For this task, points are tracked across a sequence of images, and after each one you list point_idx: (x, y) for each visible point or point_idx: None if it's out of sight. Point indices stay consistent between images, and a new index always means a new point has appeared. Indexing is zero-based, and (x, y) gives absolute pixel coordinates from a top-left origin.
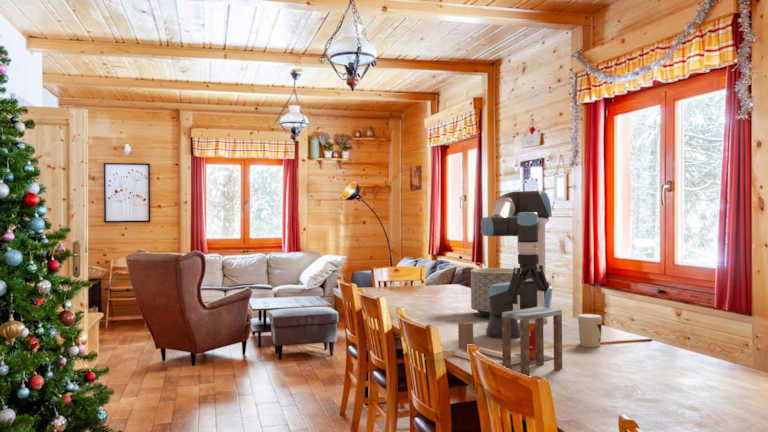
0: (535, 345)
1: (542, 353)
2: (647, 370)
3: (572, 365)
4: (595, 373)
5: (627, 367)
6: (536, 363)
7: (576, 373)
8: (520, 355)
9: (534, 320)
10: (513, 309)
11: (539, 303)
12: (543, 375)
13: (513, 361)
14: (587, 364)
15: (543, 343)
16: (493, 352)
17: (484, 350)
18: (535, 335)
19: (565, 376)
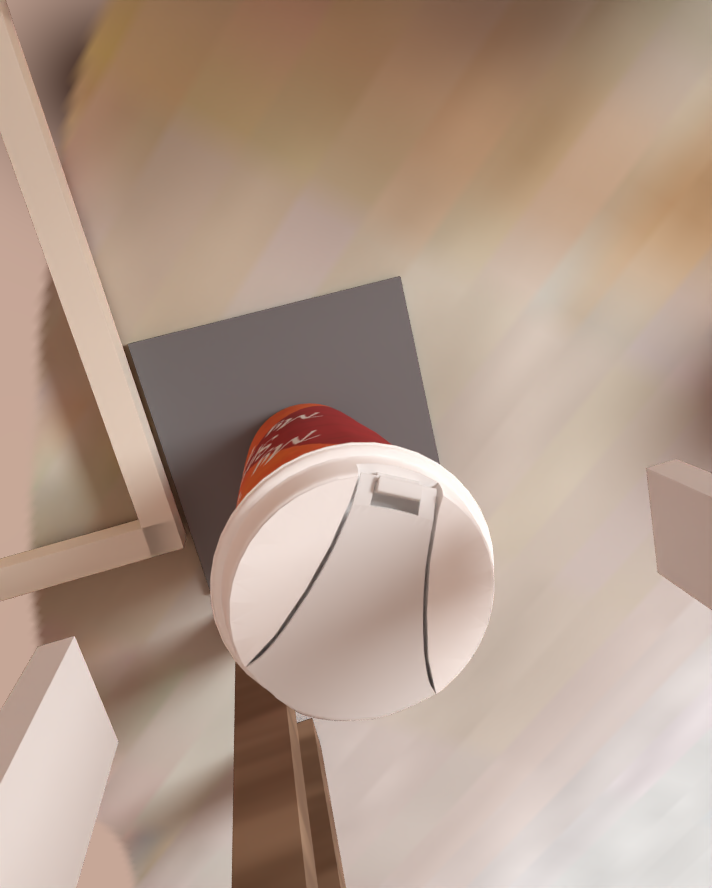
0: (236, 681)
1: None
2: (687, 867)
3: None
4: (429, 855)
5: (656, 801)
6: None
7: (338, 832)
8: (276, 361)
9: (326, 711)
10: (24, 690)
11: (705, 543)
12: (130, 823)
13: (71, 576)
14: (528, 695)
15: (295, 719)
16: (50, 269)
17: (8, 149)
18: (235, 743)
19: None
